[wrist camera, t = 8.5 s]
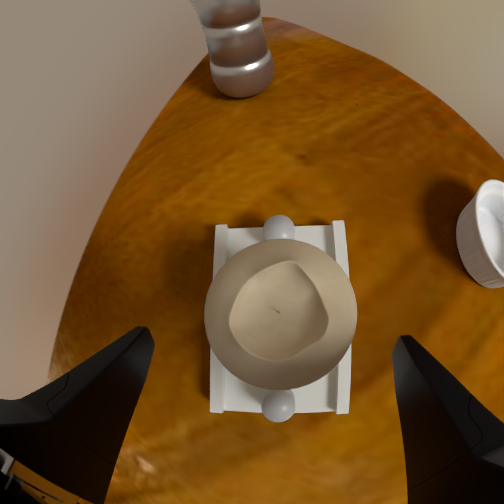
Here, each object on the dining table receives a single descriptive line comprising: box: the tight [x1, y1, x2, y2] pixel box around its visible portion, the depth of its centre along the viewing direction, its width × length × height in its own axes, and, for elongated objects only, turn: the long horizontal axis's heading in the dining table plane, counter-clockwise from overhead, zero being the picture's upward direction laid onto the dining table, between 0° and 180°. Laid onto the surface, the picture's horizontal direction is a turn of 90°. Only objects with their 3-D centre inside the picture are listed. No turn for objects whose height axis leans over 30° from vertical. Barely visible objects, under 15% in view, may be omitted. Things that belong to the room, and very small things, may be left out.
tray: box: [210, 215, 351, 422], centre depth 17 cm, size 13×9×3 cm
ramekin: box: [456, 180, 504, 288], centre depth 15 cm, size 9×9×4 cm
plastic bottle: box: [190, 0, 274, 98], centre depth 16 cm, size 6×7×20 cm
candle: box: [204, 239, 357, 390], centre depth 13 cm, size 6×6×10 cm
